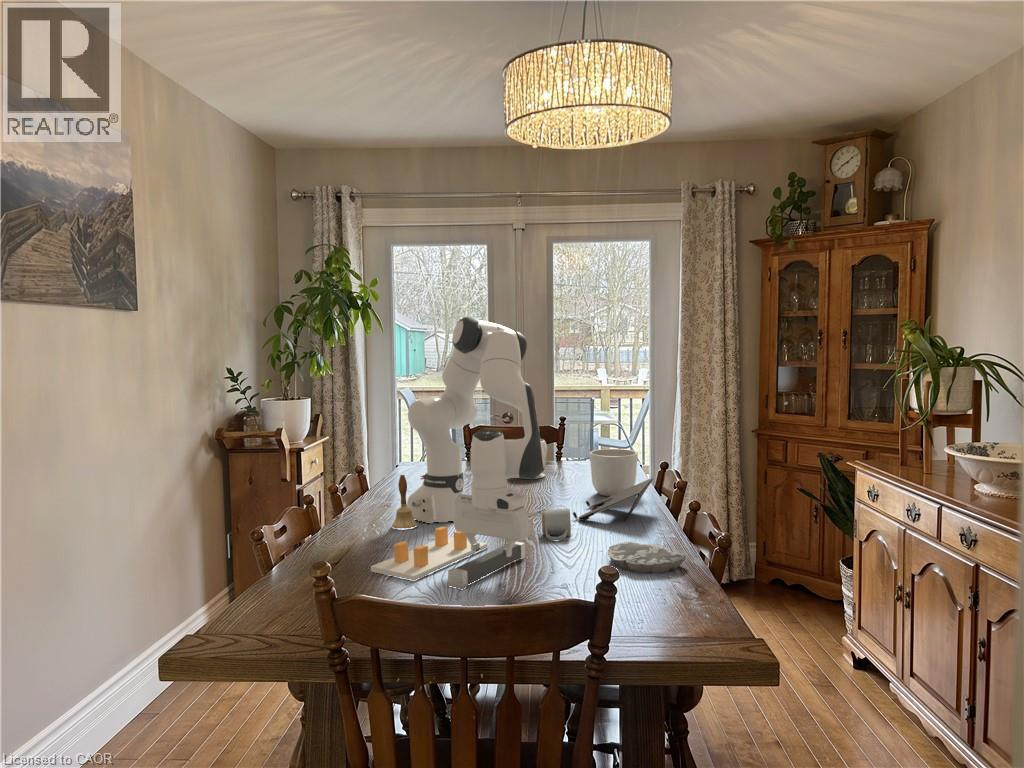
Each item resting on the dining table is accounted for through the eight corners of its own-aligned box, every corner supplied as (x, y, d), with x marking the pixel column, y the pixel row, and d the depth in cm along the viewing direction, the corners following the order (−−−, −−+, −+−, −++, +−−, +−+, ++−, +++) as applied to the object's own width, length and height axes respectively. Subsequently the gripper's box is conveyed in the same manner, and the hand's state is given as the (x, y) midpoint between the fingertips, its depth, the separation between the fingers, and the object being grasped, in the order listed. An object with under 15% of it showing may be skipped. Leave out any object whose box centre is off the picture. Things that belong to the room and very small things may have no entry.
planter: (636, 489, 263) (635, 448, 262) (639, 500, 246) (639, 456, 245) (589, 489, 265) (589, 448, 264) (590, 499, 248) (589, 456, 247)
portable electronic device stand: (600, 524, 239) (588, 499, 240) (662, 497, 231) (649, 471, 232) (582, 543, 217) (569, 515, 218) (649, 515, 209) (635, 486, 210)
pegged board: (370, 572, 176) (370, 548, 175) (446, 541, 201) (446, 520, 200) (414, 582, 168) (413, 557, 167) (487, 548, 193) (487, 527, 193)
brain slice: (590, 565, 179) (590, 553, 179) (630, 549, 191) (630, 539, 191) (656, 583, 165) (656, 570, 165) (695, 565, 177) (695, 554, 177)
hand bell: (397, 532, 211) (396, 478, 210) (386, 526, 218) (384, 474, 217) (423, 527, 216) (421, 475, 215) (411, 521, 223) (409, 471, 222)
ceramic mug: (542, 531, 209) (542, 505, 209) (570, 531, 209) (570, 505, 208) (541, 542, 199) (541, 515, 198) (571, 542, 198) (570, 515, 198)
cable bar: (448, 587, 164) (448, 570, 164) (512, 555, 187) (512, 540, 187) (462, 590, 162) (462, 573, 162) (525, 558, 185) (525, 543, 184)
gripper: (447, 495, 176) (449, 550, 177) (517, 504, 165) (519, 563, 166) (462, 490, 181) (464, 544, 182) (531, 498, 170) (533, 555, 171)
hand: (491, 553), depth 174 cm, fingers open, 8 cm apart
